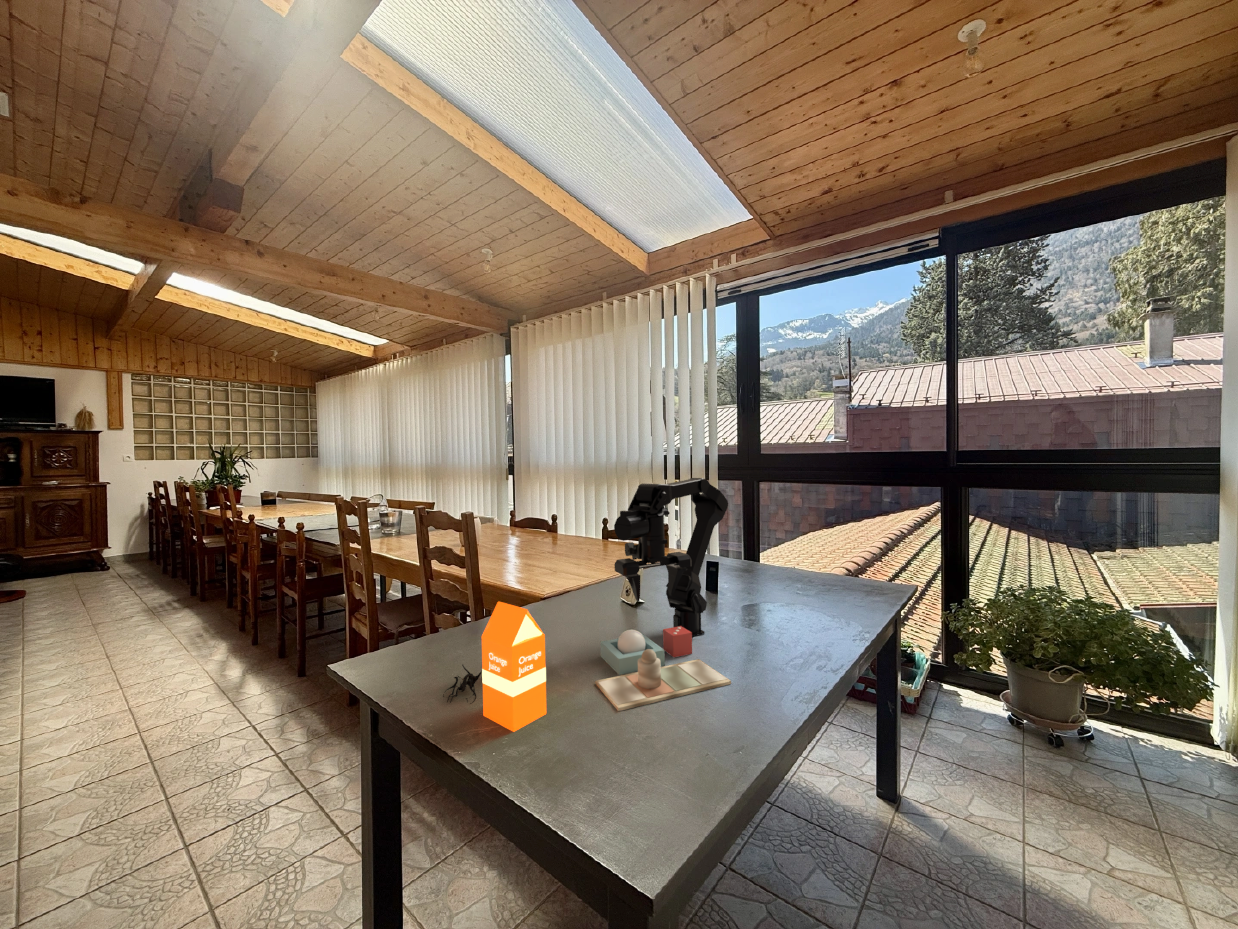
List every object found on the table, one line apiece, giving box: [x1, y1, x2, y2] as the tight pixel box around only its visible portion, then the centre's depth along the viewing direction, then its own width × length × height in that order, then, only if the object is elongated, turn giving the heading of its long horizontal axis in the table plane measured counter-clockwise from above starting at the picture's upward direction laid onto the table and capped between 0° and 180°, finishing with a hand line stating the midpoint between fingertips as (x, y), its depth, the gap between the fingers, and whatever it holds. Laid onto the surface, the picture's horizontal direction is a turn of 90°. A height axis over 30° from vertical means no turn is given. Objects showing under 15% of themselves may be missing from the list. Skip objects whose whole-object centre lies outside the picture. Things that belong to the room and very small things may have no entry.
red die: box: [662, 626, 693, 658], centre depth 115 cm, size 5×5×5 cm
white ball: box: [618, 629, 646, 655], centre depth 111 cm, size 6×6×6 cm
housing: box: [599, 633, 666, 676], centre depth 111 cm, size 11×11×4 cm
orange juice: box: [480, 601, 547, 733], centre depth 88 cm, size 8×9×20 cm
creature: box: [442, 663, 482, 705], centre depth 95 cm, size 8×5×8 cm
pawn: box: [637, 649, 662, 689], centre depth 98 cm, size 5×5×7 cm
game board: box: [594, 658, 732, 712], centre depth 99 cm, size 25×12×1 cm, turn 113°
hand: (654, 598), depth 119 cm, fingers open, 9 cm apart
